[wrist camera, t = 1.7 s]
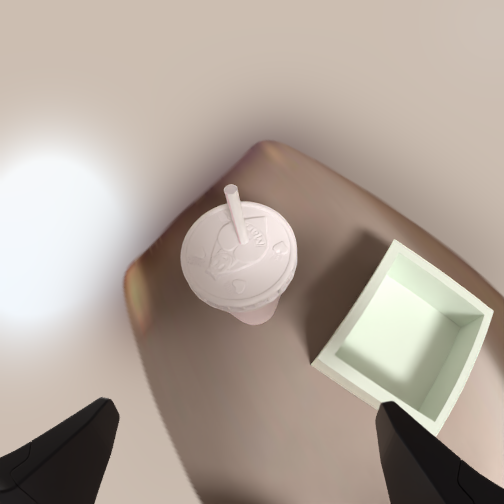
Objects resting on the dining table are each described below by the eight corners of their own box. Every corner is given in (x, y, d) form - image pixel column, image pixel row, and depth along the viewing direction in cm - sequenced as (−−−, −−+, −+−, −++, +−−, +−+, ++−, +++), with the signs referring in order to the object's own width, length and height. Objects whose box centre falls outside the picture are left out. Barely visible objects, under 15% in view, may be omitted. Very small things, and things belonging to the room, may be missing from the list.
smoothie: (309, 297, 24) (332, 186, 11) (258, 357, 22) (224, 308, 10) (250, 254, 26) (220, 128, 14) (200, 308, 24) (121, 214, 12)
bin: (410, 431, 18) (436, 436, 14) (310, 364, 21) (317, 358, 17) (466, 325, 21) (493, 311, 17) (378, 264, 24) (394, 239, 20)
